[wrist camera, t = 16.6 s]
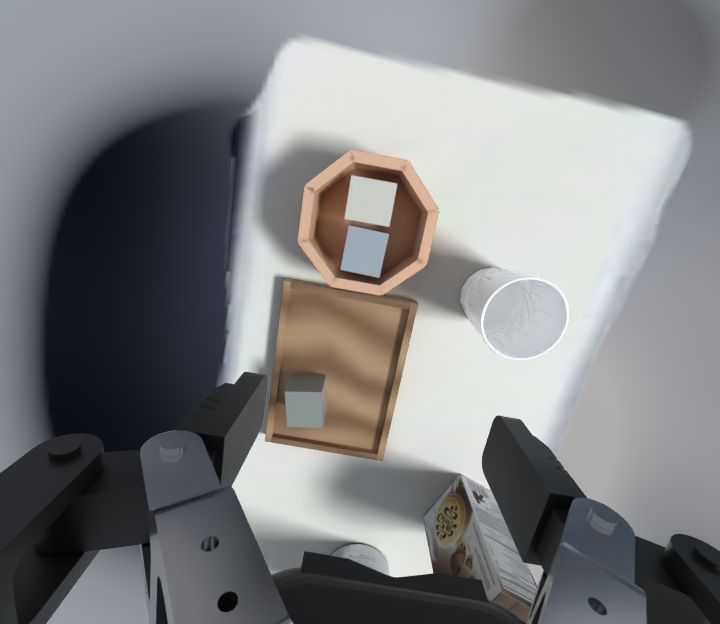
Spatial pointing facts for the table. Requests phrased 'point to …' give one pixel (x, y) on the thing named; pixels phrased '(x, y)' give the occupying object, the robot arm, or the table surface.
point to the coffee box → (478, 545)
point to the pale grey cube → (370, 201)
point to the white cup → (515, 312)
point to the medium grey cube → (306, 401)
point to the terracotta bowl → (329, 227)
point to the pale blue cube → (364, 250)
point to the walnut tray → (341, 365)
